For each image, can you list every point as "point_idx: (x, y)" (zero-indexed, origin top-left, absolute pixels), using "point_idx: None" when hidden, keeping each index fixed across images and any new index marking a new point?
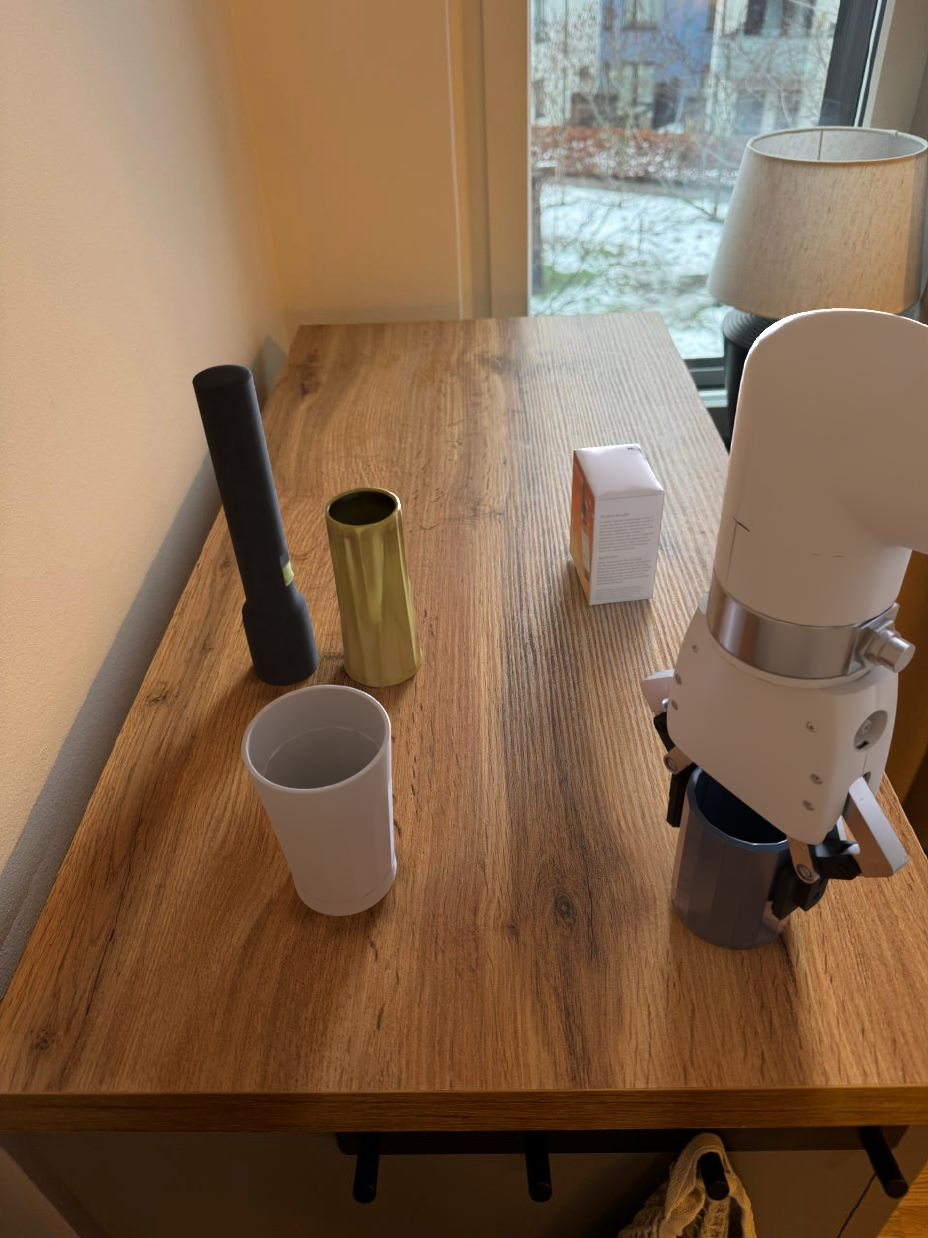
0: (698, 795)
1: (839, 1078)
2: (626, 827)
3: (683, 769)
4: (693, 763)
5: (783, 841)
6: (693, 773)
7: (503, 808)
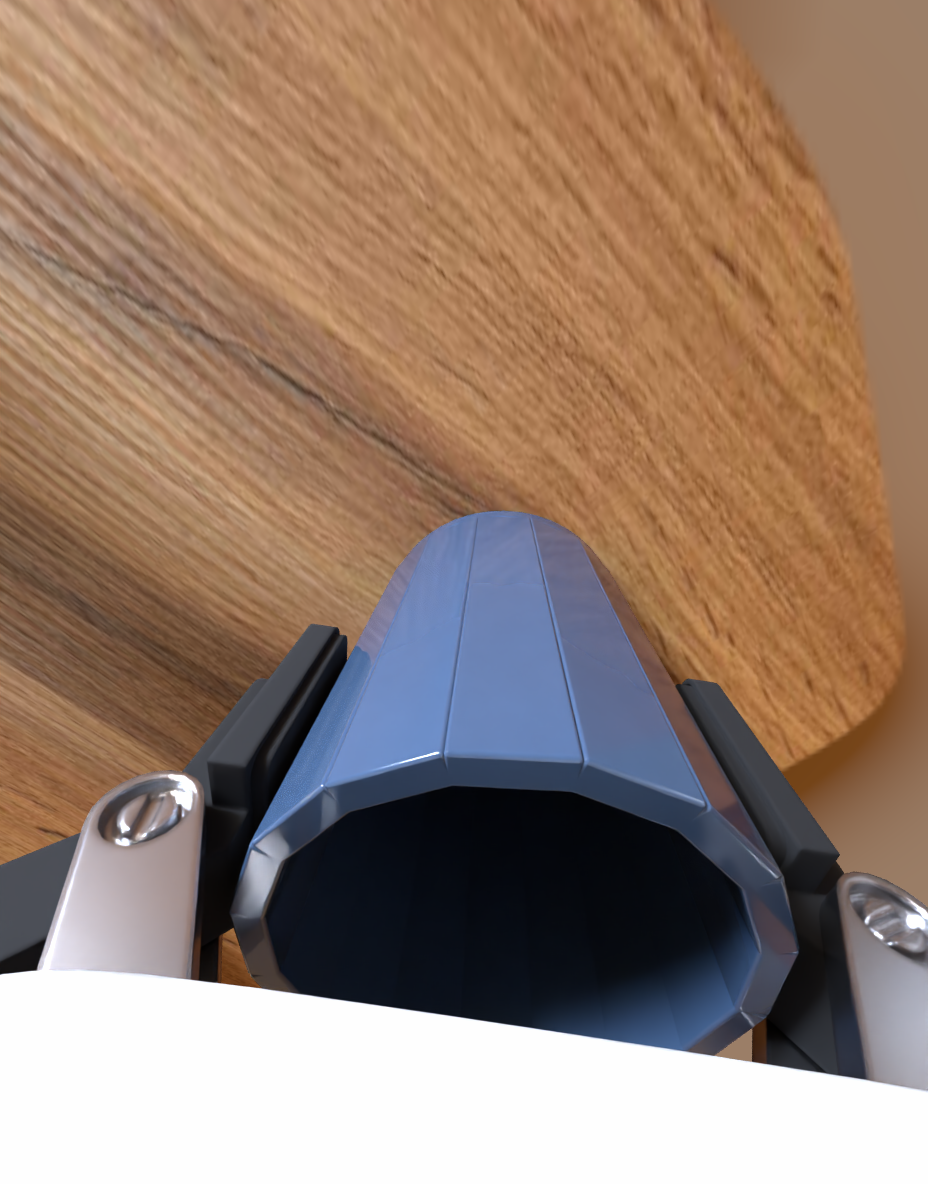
0: (325, 834)
1: (794, 761)
2: (253, 617)
3: (220, 949)
4: (217, 916)
5: (701, 1034)
6: (259, 977)
7: (94, 722)
